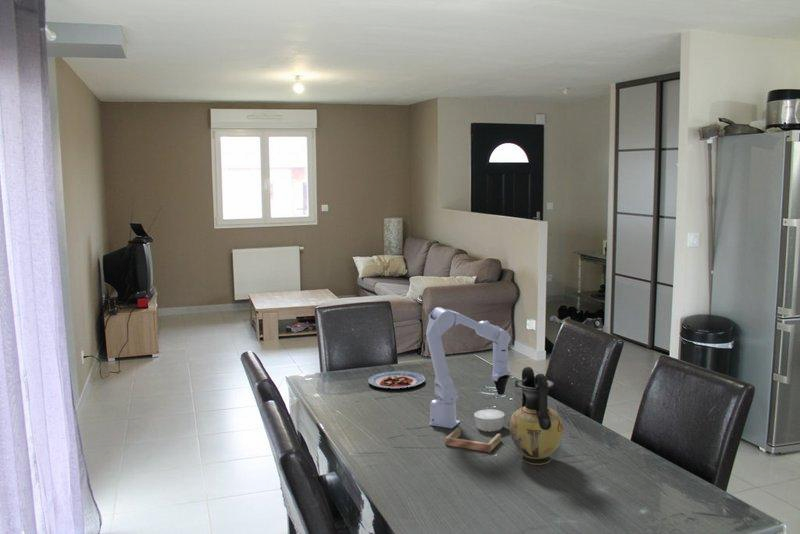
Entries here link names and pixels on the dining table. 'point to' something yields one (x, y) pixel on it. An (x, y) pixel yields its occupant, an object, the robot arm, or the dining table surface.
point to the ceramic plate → (396, 379)
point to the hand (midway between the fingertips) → (500, 394)
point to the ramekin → (489, 420)
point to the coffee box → (518, 396)
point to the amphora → (535, 420)
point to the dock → (471, 442)
